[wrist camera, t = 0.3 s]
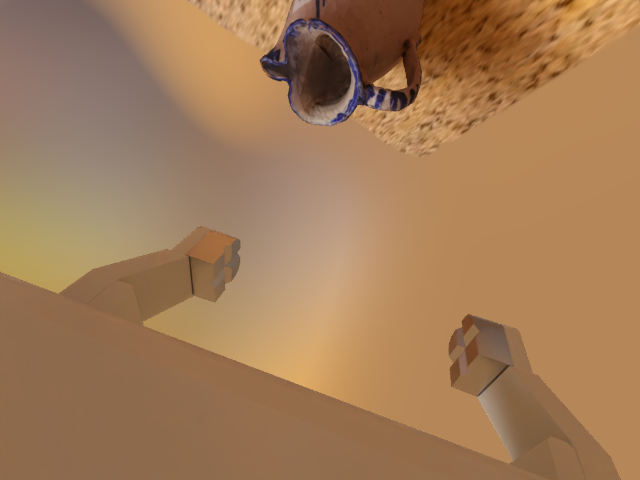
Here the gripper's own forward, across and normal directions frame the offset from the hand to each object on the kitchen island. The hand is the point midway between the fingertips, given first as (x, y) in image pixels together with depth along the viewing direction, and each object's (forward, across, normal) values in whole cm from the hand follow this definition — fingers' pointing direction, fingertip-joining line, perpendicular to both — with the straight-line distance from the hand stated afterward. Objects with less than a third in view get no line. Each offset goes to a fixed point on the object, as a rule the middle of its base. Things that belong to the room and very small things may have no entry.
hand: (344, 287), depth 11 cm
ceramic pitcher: (+53, +7, -11) cm, 55 cm away
